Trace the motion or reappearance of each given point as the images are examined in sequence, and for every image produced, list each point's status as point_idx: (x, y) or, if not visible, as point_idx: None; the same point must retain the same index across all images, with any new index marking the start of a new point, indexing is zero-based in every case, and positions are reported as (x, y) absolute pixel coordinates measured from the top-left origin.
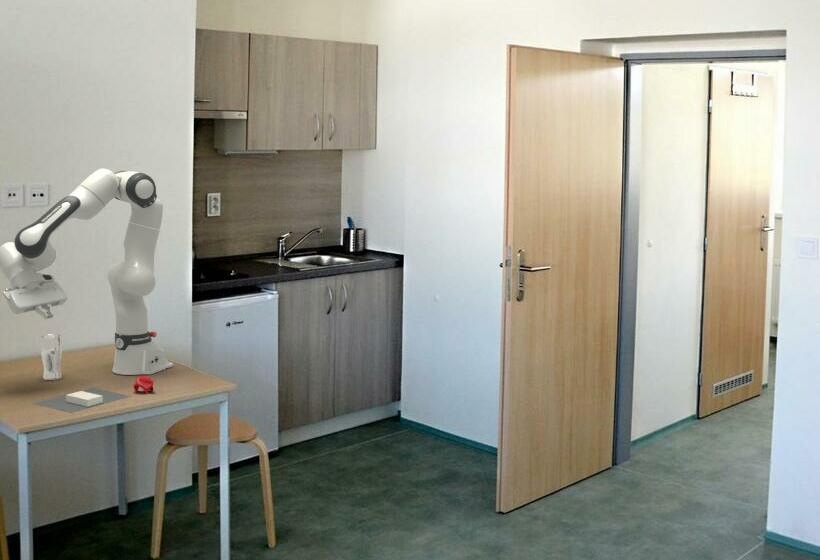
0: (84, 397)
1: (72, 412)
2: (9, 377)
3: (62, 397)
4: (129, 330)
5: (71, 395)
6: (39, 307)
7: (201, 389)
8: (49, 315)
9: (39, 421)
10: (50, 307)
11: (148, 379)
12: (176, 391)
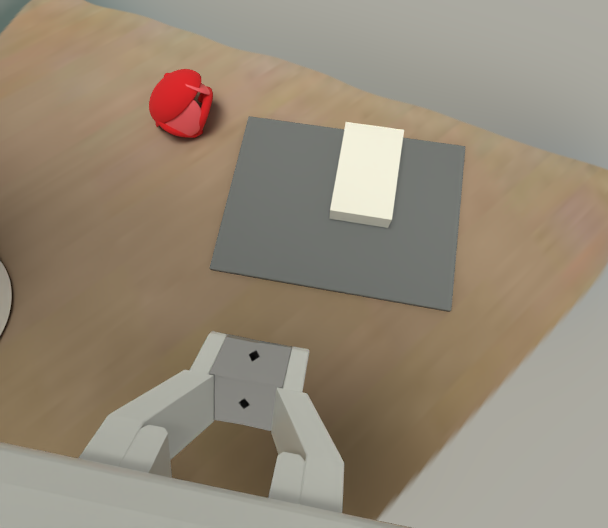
0: (387, 153)
1: (460, 146)
2: None
3: (350, 274)
4: None
5: (389, 200)
6: (323, 477)
7: (101, 24)
8: (272, 343)
9: (559, 179)
10: (156, 405)
11: (182, 69)
12: (142, 62)
